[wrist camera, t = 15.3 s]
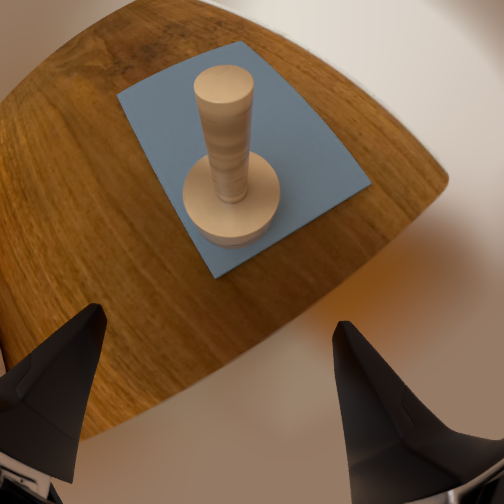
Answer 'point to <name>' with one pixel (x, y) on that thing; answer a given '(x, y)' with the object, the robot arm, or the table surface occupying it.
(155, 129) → the mat
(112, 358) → the table surface
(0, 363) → the bowl
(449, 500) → the robot arm
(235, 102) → the wooden stamp
